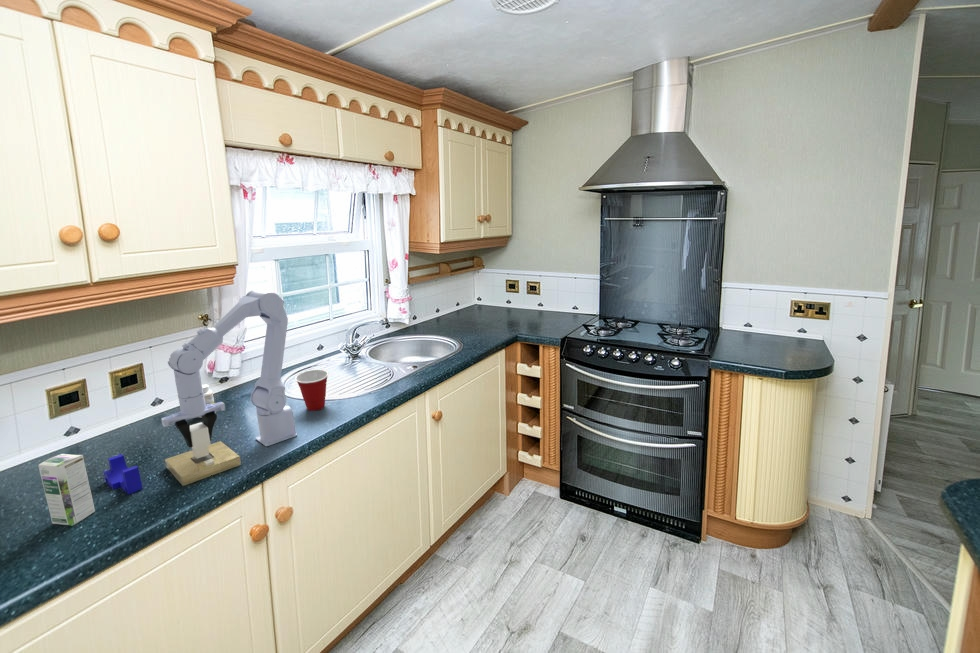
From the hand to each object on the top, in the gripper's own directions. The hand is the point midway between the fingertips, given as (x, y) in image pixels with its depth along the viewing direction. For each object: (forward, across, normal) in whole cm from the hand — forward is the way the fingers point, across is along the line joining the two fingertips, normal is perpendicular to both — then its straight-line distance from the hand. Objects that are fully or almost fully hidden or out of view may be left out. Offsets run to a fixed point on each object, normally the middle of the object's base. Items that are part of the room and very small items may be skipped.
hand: (199, 443), depth 136 cm
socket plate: (+7, 0, 0) cm, 7 cm away
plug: (+3, 0, 0) cm, 4 cm away
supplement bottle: (+7, -13, -38) cm, 41 cm away
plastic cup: (+7, -40, -15) cm, 43 cm away
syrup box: (+7, +28, +3) cm, 29 cm away
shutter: (+5, 0, 0) cm, 5 cm away
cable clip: (+7, +17, -5) cm, 19 cm away
